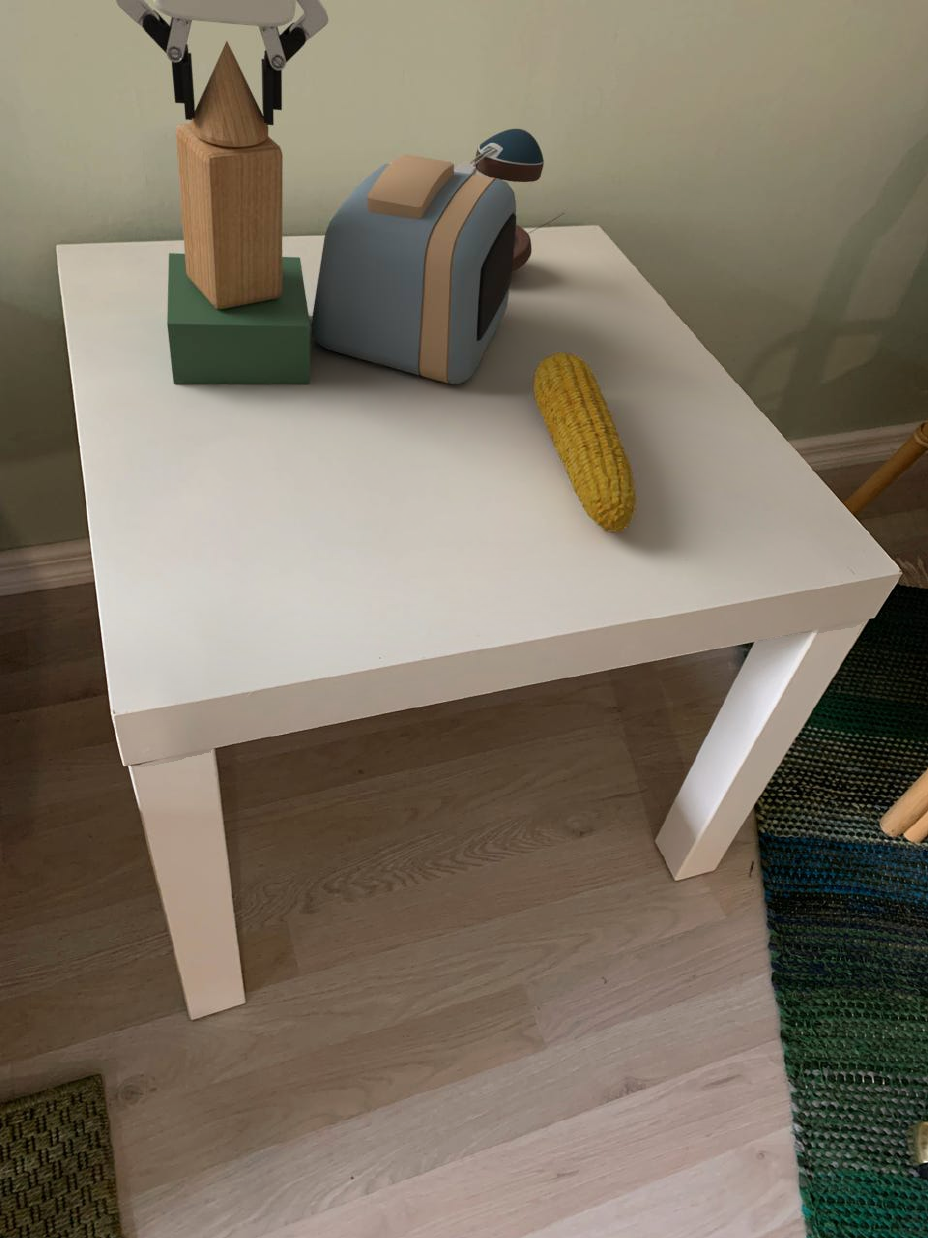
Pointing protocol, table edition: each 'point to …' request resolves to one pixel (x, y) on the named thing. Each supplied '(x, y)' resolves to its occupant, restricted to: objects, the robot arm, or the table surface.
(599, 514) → the food
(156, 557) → the table surface
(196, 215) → the decorative item
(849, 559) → the table surface
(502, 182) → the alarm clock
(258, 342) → the green block
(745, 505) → the table surface
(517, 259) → the headphones
